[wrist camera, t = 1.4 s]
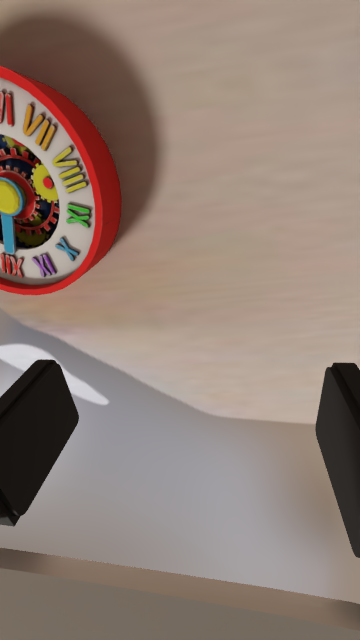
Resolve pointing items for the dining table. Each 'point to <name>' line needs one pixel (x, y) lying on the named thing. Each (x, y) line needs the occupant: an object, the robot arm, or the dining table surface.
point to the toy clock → (51, 189)
